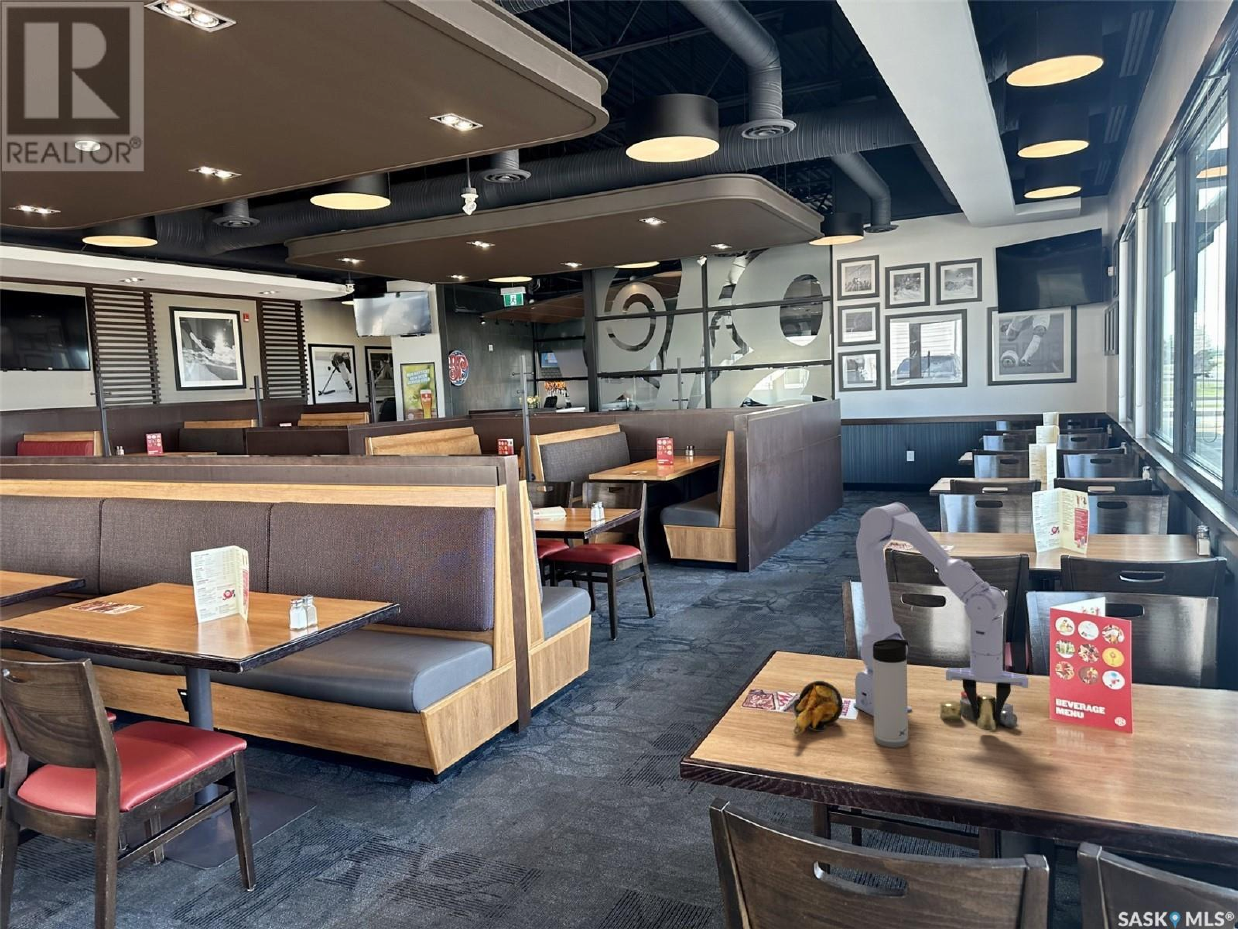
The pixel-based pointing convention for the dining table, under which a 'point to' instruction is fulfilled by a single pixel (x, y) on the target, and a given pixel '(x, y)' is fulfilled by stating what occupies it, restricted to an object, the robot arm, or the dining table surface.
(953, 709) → the brass union nut
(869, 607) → the robot arm
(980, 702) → the brass nipple
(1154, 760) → the dining table surface
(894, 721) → the travel mug
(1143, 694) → the dining table surface
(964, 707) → the valve body
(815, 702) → the fried food
